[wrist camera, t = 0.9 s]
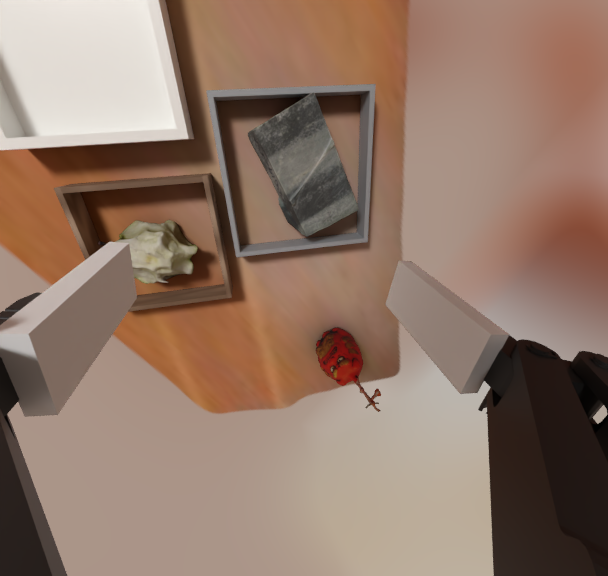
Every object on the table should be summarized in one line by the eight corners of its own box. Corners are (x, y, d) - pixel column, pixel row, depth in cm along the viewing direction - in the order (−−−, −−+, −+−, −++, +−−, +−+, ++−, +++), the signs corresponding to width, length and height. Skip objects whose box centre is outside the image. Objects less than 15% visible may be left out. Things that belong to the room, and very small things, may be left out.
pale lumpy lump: (115, 244, 39) (79, 252, 31) (167, 202, 39) (144, 199, 31) (165, 294, 42) (143, 312, 34) (214, 255, 41) (203, 265, 34)
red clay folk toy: (328, 319, 50) (358, 383, 36) (360, 332, 52) (398, 395, 39) (307, 352, 52) (328, 422, 39) (338, 362, 55) (368, 432, 41)
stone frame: (209, 94, 32) (206, 90, 30) (365, 88, 35) (375, 84, 32) (236, 250, 41) (236, 257, 38) (360, 235, 44) (367, 241, 41)
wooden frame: (71, 184, 34) (53, 188, 31) (210, 173, 36) (207, 176, 33) (119, 301, 41) (109, 314, 38) (232, 286, 43) (231, 297, 40)
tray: (-102, -133, 22) (-166, -184, 19) (140, -119, 25) (123, -162, 21) (27, 149, 32) (0, 150, 28) (194, 139, 34) (188, 138, 31)
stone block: (294, 233, 42) (299, 244, 37) (241, 133, 35) (240, 132, 30) (348, 203, 41) (360, 211, 37) (305, 96, 34) (313, 89, 30)
